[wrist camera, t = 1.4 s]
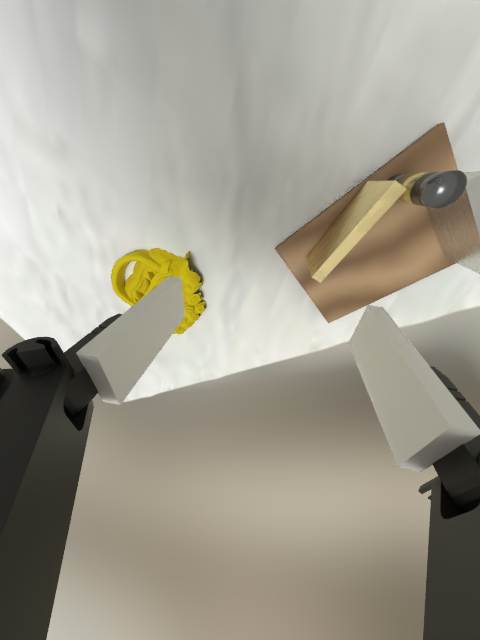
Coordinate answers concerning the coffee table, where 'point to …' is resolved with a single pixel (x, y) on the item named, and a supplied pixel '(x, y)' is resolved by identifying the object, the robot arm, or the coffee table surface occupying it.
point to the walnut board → (376, 239)
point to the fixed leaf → (452, 212)
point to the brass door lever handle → (358, 222)
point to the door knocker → (158, 280)
